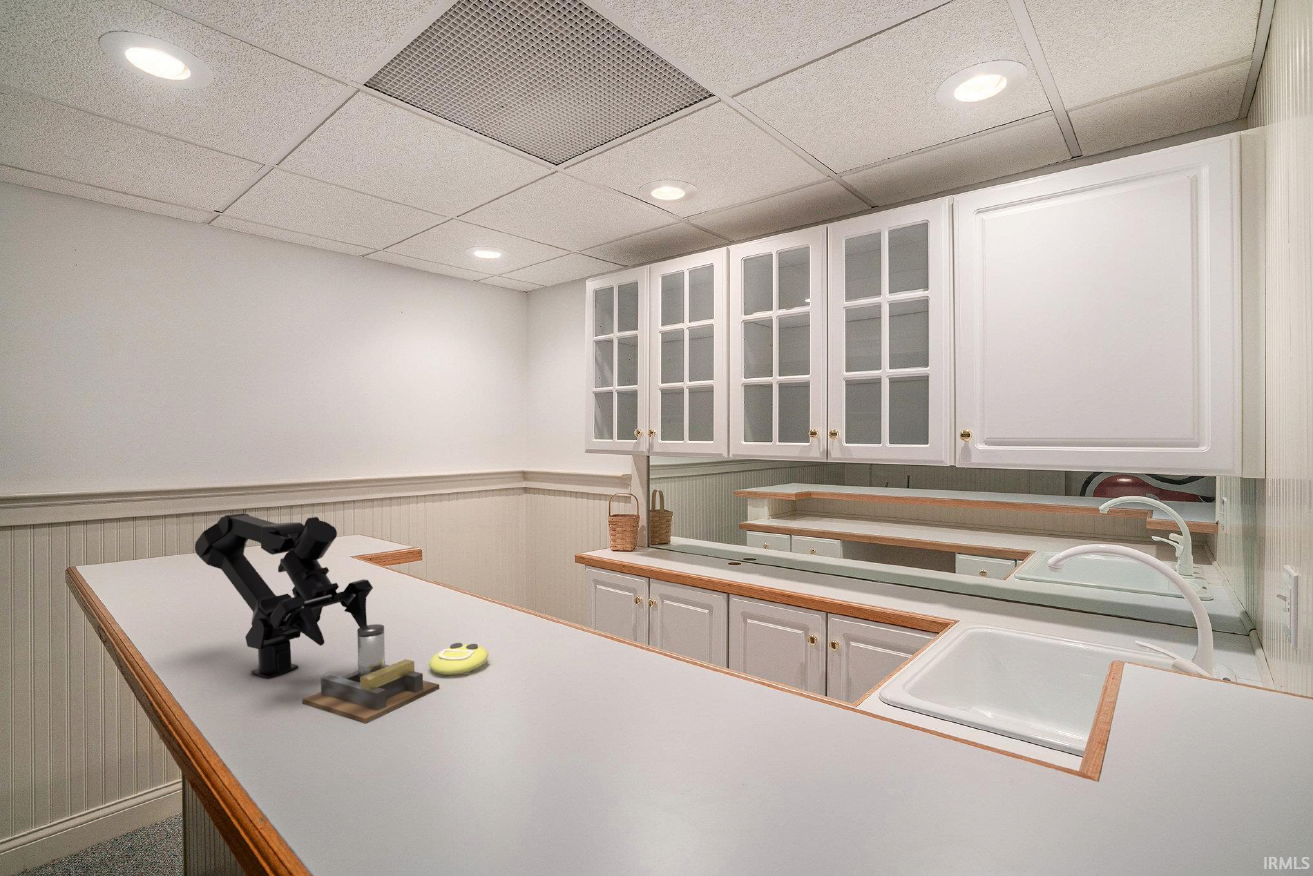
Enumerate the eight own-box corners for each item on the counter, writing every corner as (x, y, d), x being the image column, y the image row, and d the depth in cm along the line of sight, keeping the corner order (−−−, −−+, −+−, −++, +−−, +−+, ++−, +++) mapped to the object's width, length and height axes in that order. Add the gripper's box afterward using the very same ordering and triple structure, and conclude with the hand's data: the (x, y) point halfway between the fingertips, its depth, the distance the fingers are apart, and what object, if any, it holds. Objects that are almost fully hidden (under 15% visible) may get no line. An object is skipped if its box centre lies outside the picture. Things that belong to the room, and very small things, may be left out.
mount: (302, 703, 116) (301, 682, 116) (377, 673, 130) (377, 654, 130) (365, 723, 107) (365, 701, 107) (439, 688, 121) (438, 669, 121)
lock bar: (360, 688, 112) (360, 677, 112) (406, 669, 121) (405, 659, 121) (369, 690, 111) (368, 679, 111) (414, 671, 120) (414, 661, 120)
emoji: (471, 664, 125) (497, 639, 136) (416, 661, 127) (446, 637, 139) (472, 683, 125) (498, 656, 137) (418, 680, 127) (448, 654, 139)
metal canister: (353, 696, 116) (352, 631, 116) (366, 686, 121) (365, 624, 121) (378, 696, 116) (376, 631, 116) (389, 686, 121) (388, 624, 121)
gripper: (331, 588, 137) (366, 646, 132) (242, 611, 121) (279, 678, 116) (355, 556, 133) (392, 614, 129) (266, 574, 117) (305, 642, 112)
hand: (344, 636), depth 121 cm, fingers open, 9 cm apart
